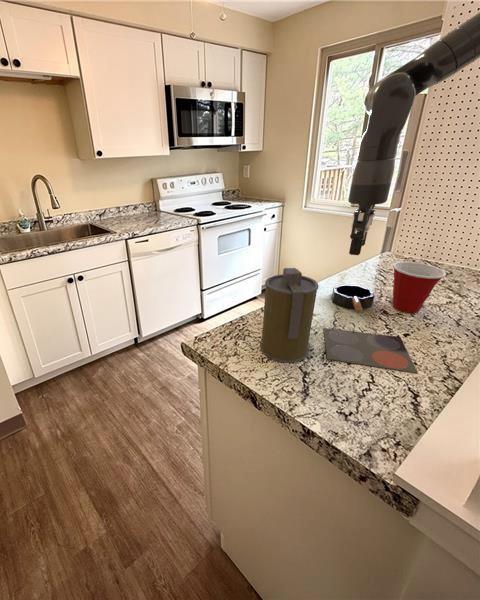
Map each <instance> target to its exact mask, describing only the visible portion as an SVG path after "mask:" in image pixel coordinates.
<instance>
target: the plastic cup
mask: <svg viewBox="0 0 480 600" xmlns="http://www.w3.org/2000/svg"><path fill="white" fill-rule="evenodd" d="M392 267H393V285H392V308H394V309H395V310H397V311H400V312H402V313H407V314H408V313H410V314H416V313H418V312H419V311H420V310H421V309H422V307H423V305H424V303H425V302H426V301H427V300H428V297H429V296H430V294H431V293H432V291H433V289H434V288H435V286H436V285H437V284H438V282H440V280H441V279H443V278H445V277H446V276H447V272H445V270H444V269H442V268H439V267H437V266H434V265H432V264H428V263H427V264H426V263H421V262H416V261H398V262H397V261H396V262H394V263H393V264H392Z"/></svg>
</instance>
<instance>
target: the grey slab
mask: <svg viewBox="0 0 480 600" xmlns="http://www.w3.org/2000/svg"><path fill="white" fill-rule="evenodd" d="M323 335H324V344H325V353H326V354H325V355H326V360H327V361H335V362H340V363H347V364H353V365H360V366H367V367H371V368H378V369H379V368H380V369H385V370H392V371H399V372H406V373H411V374H419V372H418V370H417V367H416V366H415V364H414V362H413V360H412V358H411V356H410V354H409V351H408V350H407V348H406V346H405V343H404V342H403V339H402V338H401V336H395V335H387V334H379V333H370V332H362V331H354V330H345V329H338V328H337V329H336V328H328V327H323Z"/></svg>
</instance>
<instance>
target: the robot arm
mask: <svg viewBox="0 0 480 600" xmlns="http://www.w3.org/2000/svg"><path fill="white" fill-rule="evenodd" d="M479 59H480V11H479V12H477V13H476V14H474V15H473V16H471V17H470V18H468V19H467V20H465V21H463V22H462V23H461V24H460V25H458V26H457V27H455V28H454V29H453V30H451V31H450V32H448V33H447V34H445V35H443V36H442V37H441V38H440V39H438V40H437V41H435V42H434V43H433V44H432V45H430V46H428V47H427V48H426V49H425V50H424V51H422V52H421V53H420V54H419V55H417V56H416V57H414V58H413V59H412V60H409V61H408V62H406V63H405V64H404V65H402V66H400V67H399V68H397V69H395V70H394V71H392V72H391V73H389V74H388V75H386V76H384V77H383V78H381V79H380V80H378V82H376V83H375V84H373V86H372V87H371V88H370V89H369V90H368V92H367V93H366V95H365V97H364V100H363V101H364V102H363V108H364V110H365V112H366V113H367V114H368V115H369V119H368V124H367V129H366V131H365V132H364V133H363V135H362V137H361V139H360V141H359V148H358V151H357V158H356V162H355V166H354V168H353V173H352V178H351V184H350V188H349V195H348V199H347V200H348V203H349V204H352V205H358V209H355V211H354V212H353V215H352V223H351V227H350V228H351V233H350V235H349V237H350V240H351V241H350V246H349V251H348V254H349V255H350V256H360V255H361V252H362V247H364V246H365V245H366V240H367V236H368V231H369V230H370V227H371V226H372V225H373V221H374V218H375V214H376V211H377V210H376V209H375V207H376V205H381V204H382V205H383V204H385V203H386V202H387V201H388V198H389V194H390V190H391V186H392V182H393V177H394V172H395V166H396V165H395V164H396V157H397V153H398V150H399V149H398V148H399V144H400V139H401V135H402V132H403V130H404V128H405V125H406V123H407V120H408V118H409V116H410V113H411V110H412V108H413V105H414V103H415V98H416V97H417V96H418V95H420V94H421V93H423V92H424V91H425V90H427V89H430V88H431V87H433V86H436V85H438V84H440V83H442V82H444V81H446V80H447V79H449V78H451V77H452V76H454V75H455V74H457V73H459V72H460V71H462V70H463V69H465V68H466V67H468V66H470V65H472V64H473V63H475V61H477V60H479Z"/></svg>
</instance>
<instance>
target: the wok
mask: <svg viewBox="0 0 480 600" xmlns="http://www.w3.org/2000/svg"><path fill="white" fill-rule="evenodd" d="M374 300H375V293H374V291H373V290H372V289H370V288H367V287H364V286H361V285H357V284H340V285H336V286H333V288H332V293H331V301H332V304H334V305H336V306H338V307H340V308H343V309H345V310H346V309H347V310H354V312H356V314H362V313H363V311H364V310H366V309H370V308H372V307H373V304H374Z"/></svg>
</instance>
